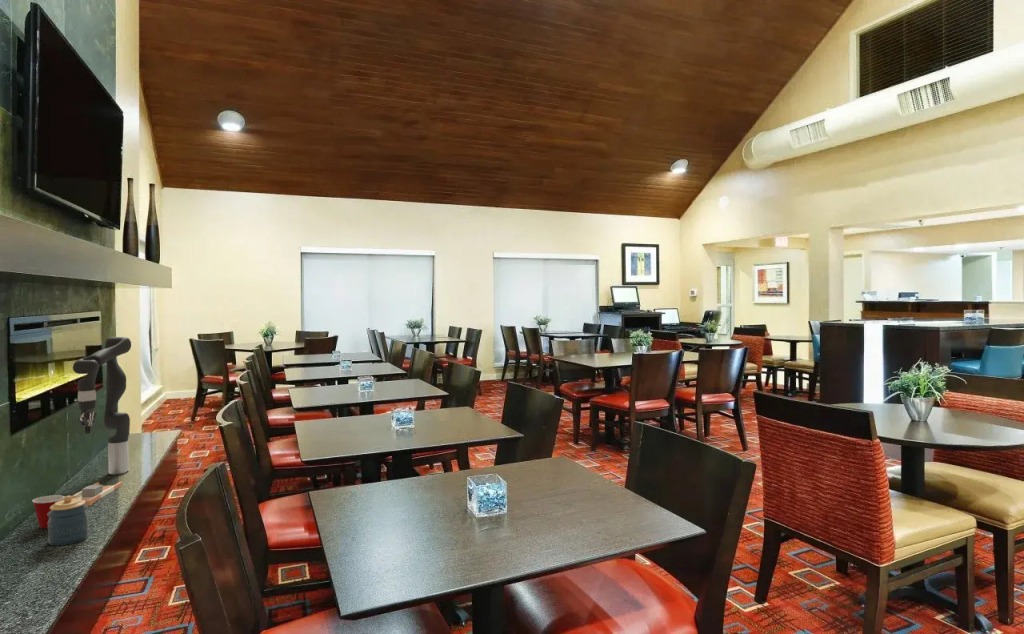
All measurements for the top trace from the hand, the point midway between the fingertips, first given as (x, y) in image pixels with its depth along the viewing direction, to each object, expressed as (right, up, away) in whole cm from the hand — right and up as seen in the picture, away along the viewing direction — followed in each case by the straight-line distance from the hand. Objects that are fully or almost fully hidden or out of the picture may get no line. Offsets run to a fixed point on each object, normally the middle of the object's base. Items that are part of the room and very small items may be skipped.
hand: (88, 433), depth 296 cm
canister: (+39, -30, -64) cm, 80 cm away
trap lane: (+11, -29, -11) cm, 33 cm away
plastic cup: (+19, -30, -49) cm, 61 cm away
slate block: (+11, -28, -12) cm, 32 cm away
